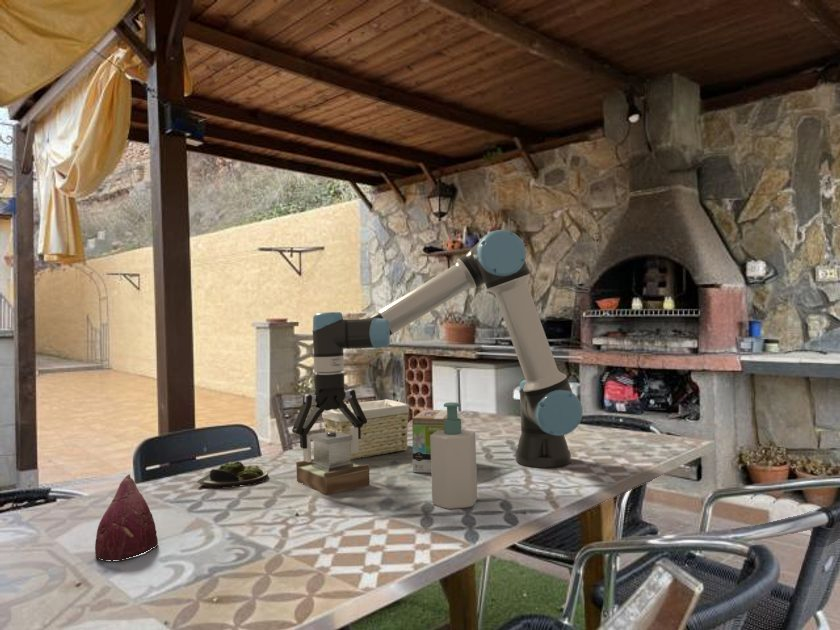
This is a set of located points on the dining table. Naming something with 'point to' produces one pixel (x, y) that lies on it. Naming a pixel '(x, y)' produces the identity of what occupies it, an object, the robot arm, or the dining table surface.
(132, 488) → the vegetable
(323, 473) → the stand
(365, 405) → the storage basket
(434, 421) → the tea box
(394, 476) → the dining table surface
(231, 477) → the salad plate
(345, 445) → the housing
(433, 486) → the soap bottle
